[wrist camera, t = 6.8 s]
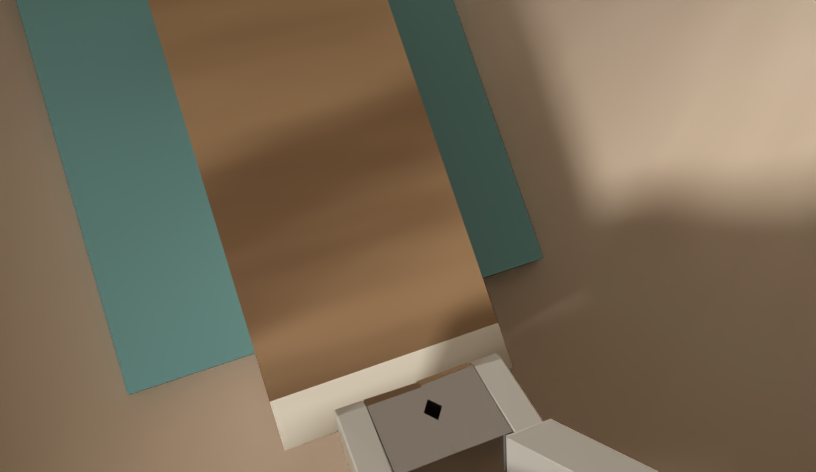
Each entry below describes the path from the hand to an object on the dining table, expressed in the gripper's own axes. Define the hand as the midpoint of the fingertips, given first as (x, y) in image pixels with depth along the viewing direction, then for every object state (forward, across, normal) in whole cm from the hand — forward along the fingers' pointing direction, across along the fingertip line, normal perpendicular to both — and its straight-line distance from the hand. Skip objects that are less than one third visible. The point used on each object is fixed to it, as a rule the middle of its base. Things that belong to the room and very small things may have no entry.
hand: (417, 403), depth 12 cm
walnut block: (+3, 0, +4) cm, 5 cm away
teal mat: (+12, 0, -1) cm, 12 cm away
